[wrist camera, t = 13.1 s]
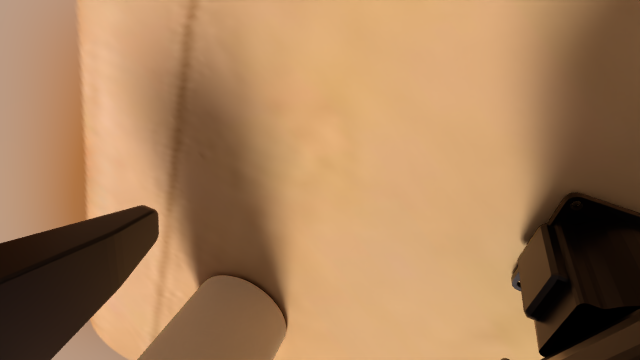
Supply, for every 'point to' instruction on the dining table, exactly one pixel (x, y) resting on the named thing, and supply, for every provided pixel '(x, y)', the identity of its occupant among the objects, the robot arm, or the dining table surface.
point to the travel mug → (222, 325)
